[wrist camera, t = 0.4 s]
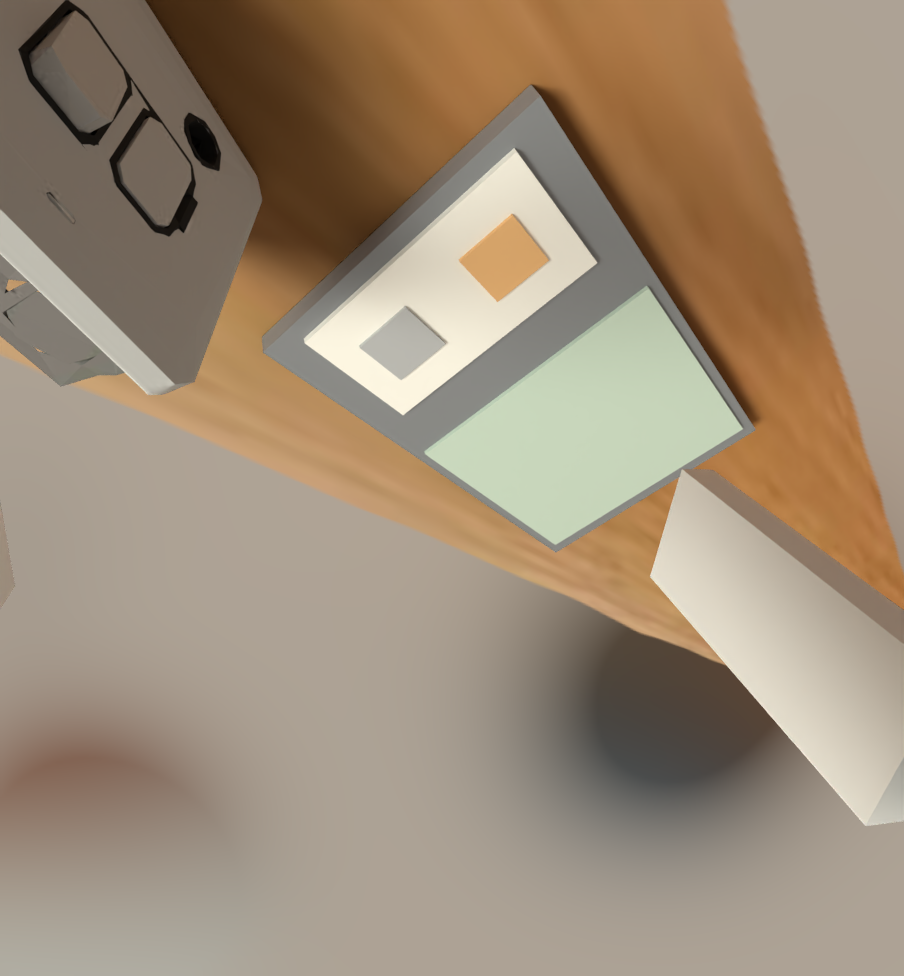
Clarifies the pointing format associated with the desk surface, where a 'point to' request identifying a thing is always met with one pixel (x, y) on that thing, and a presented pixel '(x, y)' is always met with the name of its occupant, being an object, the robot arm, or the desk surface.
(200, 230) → the electrical switch
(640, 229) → the desk surface
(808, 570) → the robot arm
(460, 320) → the switch plate
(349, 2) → the desk surface
